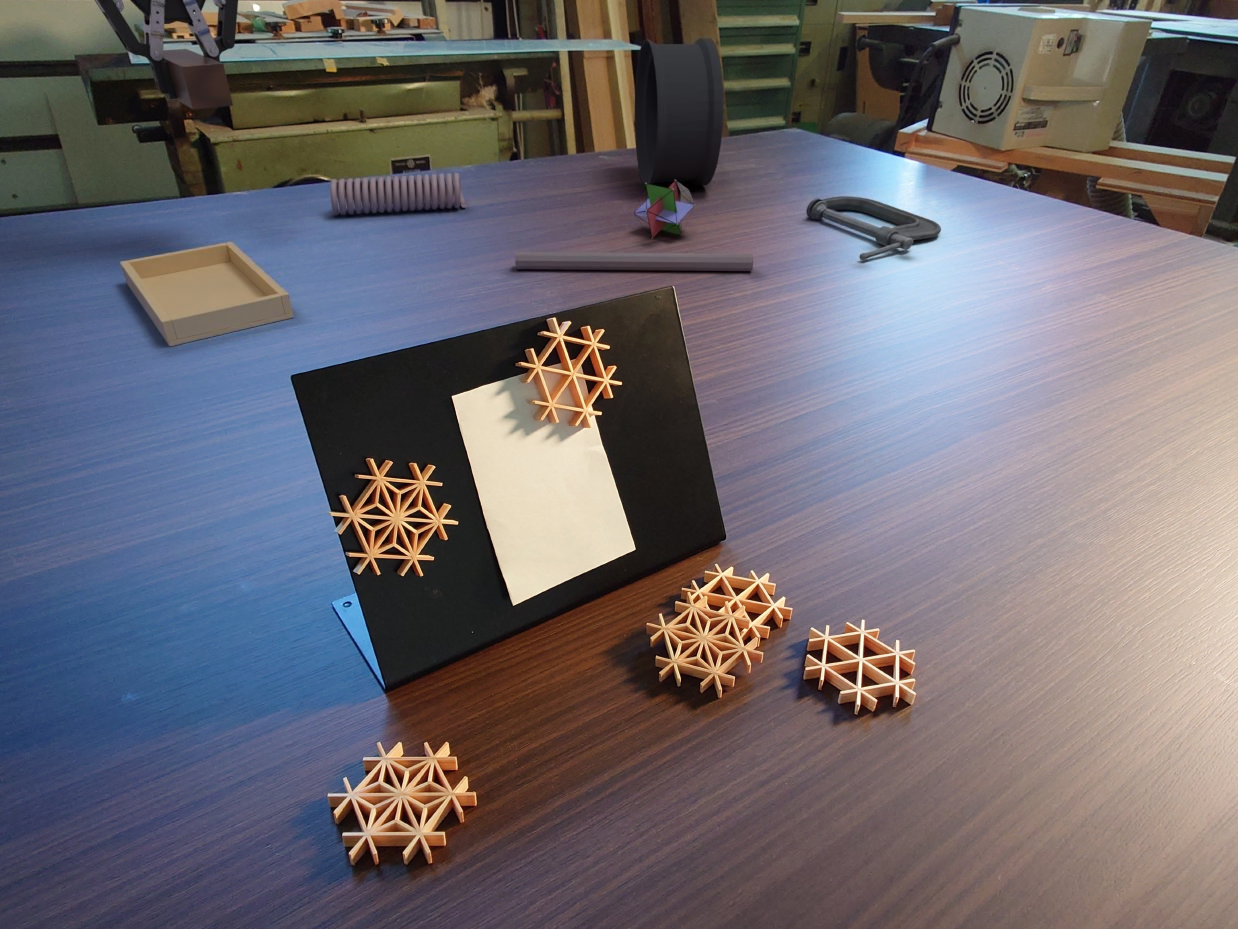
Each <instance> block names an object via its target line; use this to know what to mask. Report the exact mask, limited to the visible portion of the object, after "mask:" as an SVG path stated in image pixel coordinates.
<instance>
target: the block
mask: <svg viewBox="0 0 1238 929" xmlns="http://www.w3.org/2000/svg"><path fill="white" fill-rule="evenodd" d="M163 57H164V60H165V61H167V63H168V66H169V70H170V74H171V78H172V81H173V85H174V89H175V92H176V96H177V99H174V100H175V101H177V102H179V103H181V104H182V105H184V106H186V107H187V108H189V109H191V110H202V109H212V108H223V107H232V106H234V103H233V98H232V94H231V90H230V85H229V81H228V78H227V73H226V69H225V65H224V63H223V62H221V61H220V62H218V61H216V60H213V59H210V58H208V57H205V56H204V55H203V54H200V53H198V52H195V51H192V50H191V49H187V48H179V49H163Z"/></svg>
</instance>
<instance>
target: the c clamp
mask: <svg viewBox="0 0 1238 929" xmlns="http://www.w3.org/2000/svg"><path fill="white" fill-rule="evenodd" d="M837 210H850V211H856V212H861V213H864V214H865V213H866V214H868V215H871V216H874V217H876V218H878V219H881V220H884V221H887V222H890V223H892V224H895V225H897V226H894V227H889V226H886V225H882V226H881V227H879V226H877V225H873V224H871V223H868V222H866V221H863V220H860V219H857V218H855V217H852V216H849V215H847V214H844V213H841V212H838V211H837ZM805 211H806V216H807V217H808V219H811V220H820V219H823V218H824V219H825V220H827V221H829V222H832V223H835V224H837V225H839V226H843V227H845V228H847V229H850V230H853V231H854V232H855V231H856V232H857V233H861V234H863V235H866V236H869V237H870V238H873V239H875V242H876V243H878V244H880V245H882V246H883V247H880V248H877V249H873V250H871V251H866V252H861V253H860V254H859V257H858V258H859V260H860V261H861V262H863V261H866V260H868V259H870V258H873V257H875V256H879V255H882V254H884V253H887V252H891V251H894V250H897V249H902V250H905V251H907V250H910V248H911V247H912V245H913V244H914V240H915V241H916V240H923V239H929V238H934V237H936V236H939V235H940V233H941V231H942V227H941V225H940V224H939V223H938V222H936V221H934V220H932V219H930V218H927V217H924V216H920V215H918V214H915V213H913V212H909V211H907V210H904V209H901V208H898V207H895V206H892V205H889V204H887V203H884V202H882V201H878V200H874V199H872V198H871V199H870V198H866V197H862V196H861V197H859V196H848V195H846V196H845V195H840V196H832V197H826V198H822V199H821V198H818V197H817V198H814V199H812V200H811V201H810V202H809V203H808V204H807V207H806V210H805Z"/></svg>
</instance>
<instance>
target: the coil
mask: <svg viewBox="0 0 1238 929" xmlns="http://www.w3.org/2000/svg"><path fill="white" fill-rule="evenodd" d="M329 189H330V190H329V191H330V192H329V193H330V204H331V211H332V214H333V216H338V215H339V213H340V214H341V216H345V215H347V213H348V214H349V215H350V216H352V215H354V214H356V215H361V214H362V212H363V213H364V214H367V215H368V214H369V213H370V211H371V213H372V214H377V212H378V211H379V213H381V214H383V213H385V211H386V212H387V213H392V212H393V210H394V212H395V213H399V212H400V210H401V211H403V212H407V211H408V210H409V211H411V212H414V211H415V209H416V210H417V211H419V212H420V211H422V210H423V209H424V210H425V211H429V210H430V209H431V210H434V211H435V210H437V209H440V210H444V209H445V207H446V209H448V210H450V209H452V208H454V209H459V208H460V207H461V208H462V209H465V208H467V205H468V204H467V202H466V201H465V197H464V194H463V188H462V182H461V176H460V173H458V172H454V173H453V174H452V173H451V172H447V173H446V175H445V174H444V173H439V174H438V175H437V174H436V173H432V174H431V176H430V175H429V174H428V173H426V174H424V175H423V176H422V175H421V174H417V175H416V176H414V175H413V174H410V175H409V176H408V177H407V176H406V175H401V177H399V175H395V176H393V178H392V177H391V176H389V175H388V176H386V177H385V178H384V177H383V176H379V177H378V178H376V177H375V176H371V177H370V179H369V178H368V177H363V178H360V177H356V178H354V179H353V178H352V177H349V178H347V179H344V178H340V179H339V180H337V179H336V178H333V179H331V181H330V187H329Z"/></svg>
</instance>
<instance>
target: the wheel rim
mask: <svg viewBox="0 0 1238 929" xmlns="http://www.w3.org/2000/svg"><path fill="white" fill-rule="evenodd" d="M723 80H724V79H723V71H722V63H721V58H720V53H719V49H718V47H717V45H716V42H715V41H714V40H713V39H712V38H708V37H700V38H698V39H696V40H695V42H694V43H668V44H667V43H666V44H665V43H663V44H662V43H661V44H660V43H659V44H657V43H655V42H654V41H652V40H651V39H649V38H647V39H646V38H645V39H644V40H643V41H642V43H641V46H640V49H639V53H638V59H637V65H636V73H635V85H634V134H635V135H634V139H635V152H636V162H637V167H638V172H639V176H640V180H641V182H642V185H643V186H644V187H647V186H646V184H645V183H647V184H651V185H654V184H655V182H657V183H664V182H665V181H666V182H673V181H674V180H676V181H677V182H692V184H693V185H695V186H698V187H702V186H709V184H710V183H711V182H712V180H713V178H714V175H715V173H716V170H717V166H718V162H719V158H720V157H719V156H720V153H721V147H722V139H723V137H722V136H723V129H724V128H723V127H724V83H723ZM674 182H675V181H674Z"/></svg>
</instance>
